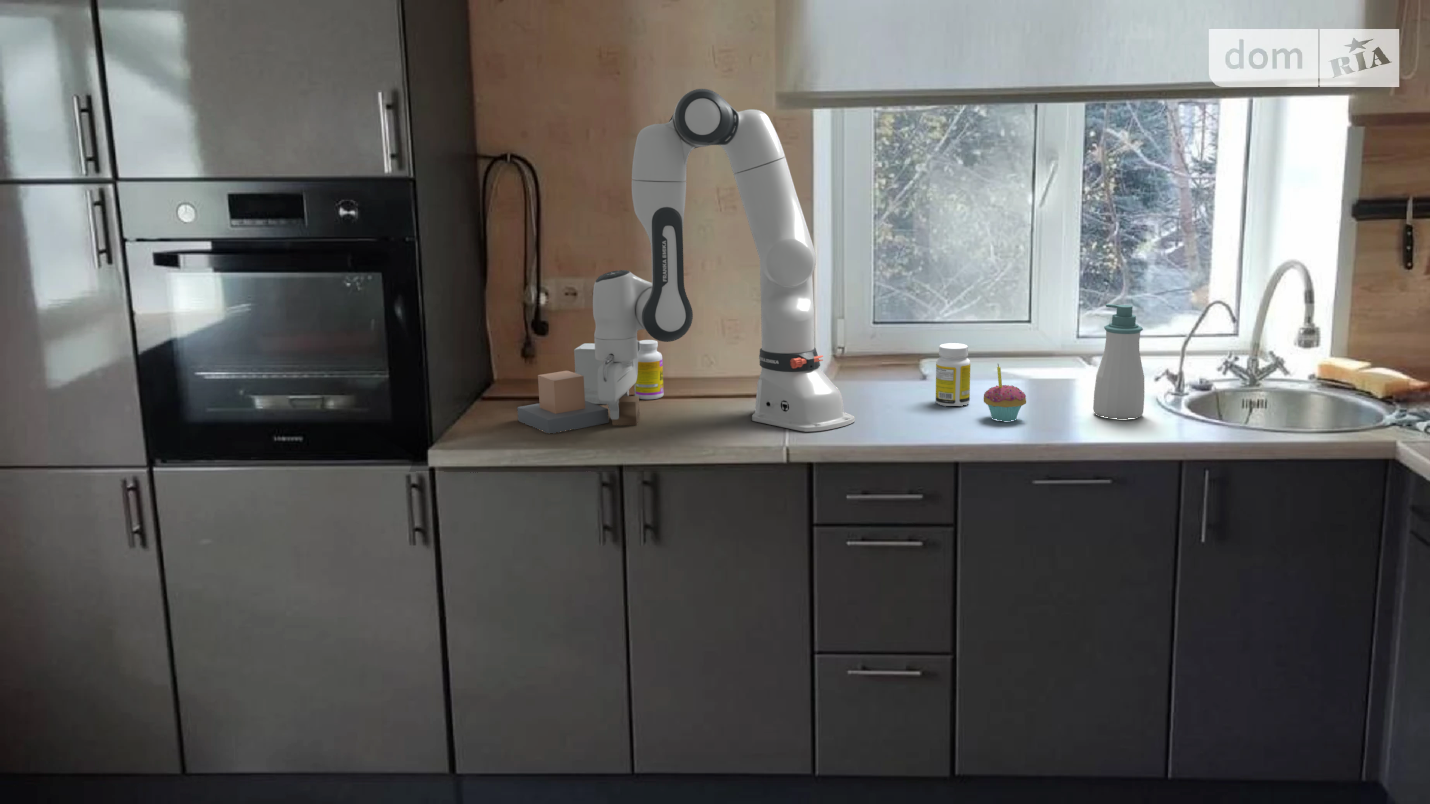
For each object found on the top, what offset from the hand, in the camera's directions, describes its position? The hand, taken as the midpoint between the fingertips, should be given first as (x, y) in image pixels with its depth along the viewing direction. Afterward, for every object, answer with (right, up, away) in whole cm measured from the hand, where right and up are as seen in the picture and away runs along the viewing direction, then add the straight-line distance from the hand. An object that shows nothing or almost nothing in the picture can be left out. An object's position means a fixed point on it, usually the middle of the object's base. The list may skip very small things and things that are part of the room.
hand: (619, 414), depth 239 cm
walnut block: (+1, -2, 0) cm, 2 cm away
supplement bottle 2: (+72, +2, +10) cm, 72 cm away
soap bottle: (+103, 0, -3) cm, 103 cm away
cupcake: (+80, -1, -4) cm, 80 cm away
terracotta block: (-12, +1, +1) cm, 12 cm away
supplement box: (-7, +3, +20) cm, 21 cm away
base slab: (-12, -2, +2) cm, 12 cm away
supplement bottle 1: (+5, +4, +22) cm, 23 cm away
